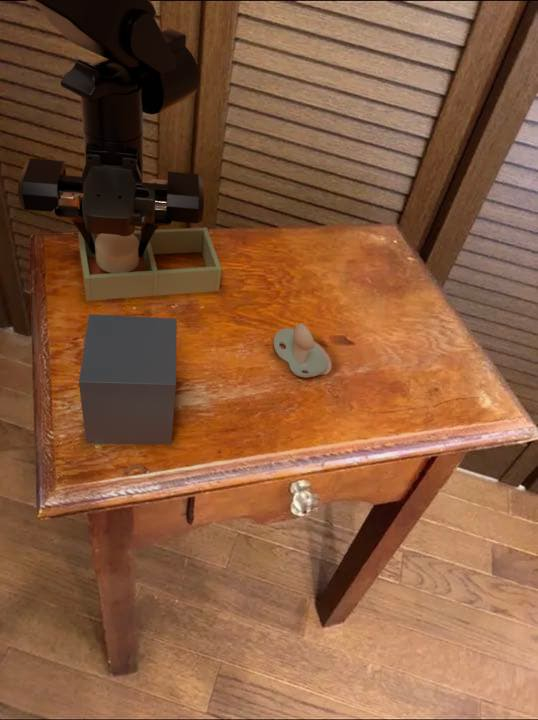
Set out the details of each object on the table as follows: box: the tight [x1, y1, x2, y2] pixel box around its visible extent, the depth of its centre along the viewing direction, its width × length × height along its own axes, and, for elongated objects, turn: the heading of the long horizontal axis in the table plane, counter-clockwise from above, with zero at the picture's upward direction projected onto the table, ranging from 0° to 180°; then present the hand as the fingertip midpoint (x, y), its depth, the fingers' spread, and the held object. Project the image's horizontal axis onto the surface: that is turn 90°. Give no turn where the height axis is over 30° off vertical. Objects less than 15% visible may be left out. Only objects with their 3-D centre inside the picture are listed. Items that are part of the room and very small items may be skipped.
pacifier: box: [273, 322, 333, 378], centre depth 66 cm, size 7×6×6 cm
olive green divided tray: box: [77, 227, 223, 302], centre depth 72 cm, size 16×8×4 cm, turn 107°
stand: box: [78, 313, 178, 446], centre depth 56 cm, size 8×8×10 cm
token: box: [95, 234, 139, 273], centre depth 69 cm, size 5×5×2 cm
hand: (117, 253), depth 69 cm, fingers closed on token, 5 cm apart
